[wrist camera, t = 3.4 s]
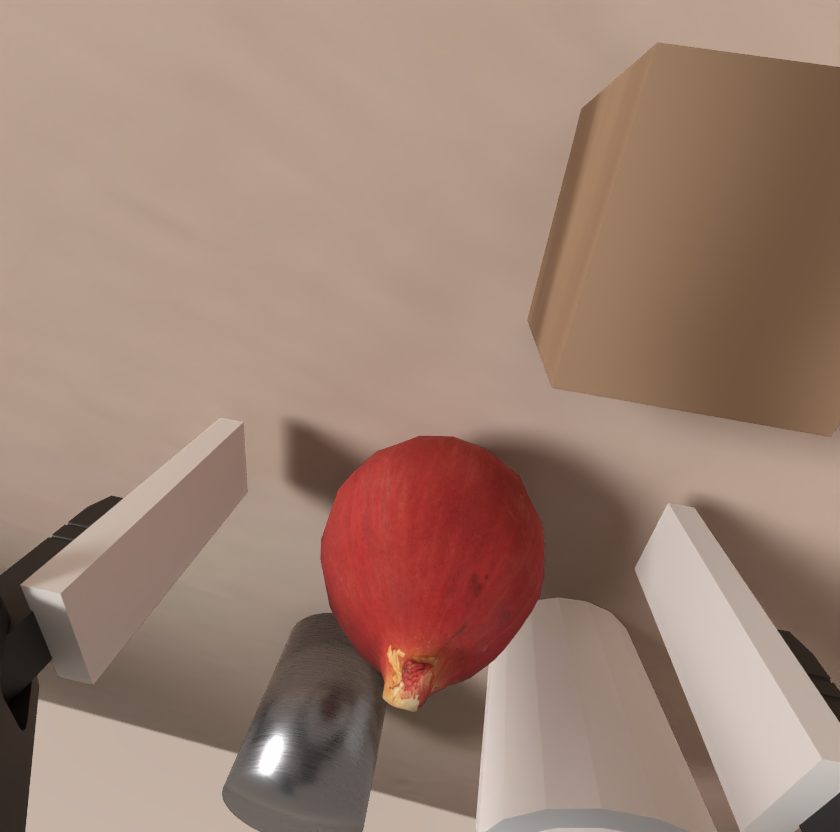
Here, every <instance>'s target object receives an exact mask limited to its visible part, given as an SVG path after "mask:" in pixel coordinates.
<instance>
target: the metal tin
mask: <svg viewBox="0 0 840 832" xmlns="http://www.w3.org/2000/svg"><path fill="white" fill-rule="evenodd" d="M384 685H385V682H384V679H383V676H382V673H380V672H379V671H378V670H377V669H376V668H374V667H373V666H372V665H371V664H370V663H368V662H367V661H366V660H365V659H364V658H363V657H361V656H360V655H359V654H358V652H357V651H356V649H355V647H354V646H353V644H352V643H351V642H350V640H349V639H348V637H347V636H346V634H345V633H344V631H343V630H342V628H341V627H340V625H339V624H338V622H337V621H336V619H335V616H334V614H333V613H323V614H316V615H312V616H309V617H307V618H305V619H303V620H301V621H300V622H299V623H297V624H296V626H295V627H294V628H293V630H292V632H291V634H290V637H289V639H288V641H287V643H286V646H285V648H284V650H283V653H282V655H281V657H280V659H279V662H278V664H277V666H276V669H275V671H274V673H273V675H272V678H271V680H270V682H269V684H268V687H267V689H266V691H265V694H264V696H263V698H262V700H261V703H260V705H259V707H258V710H257V712H256V714H255V716H254V719H253V721H252V723H251V726H250V728H249V730H248V732H247V735H246V737H245V739H244V742H243V744H242V746H241V748H240V751H239V753H238V755H237V757H236V760H235V762H234V764H233V767H232V769H231V772H230V774H229V776H228V778H227V780H226V783H225V785H224V787H223V791H222V796H223V800H224V802H225V804H226V806H227V807H228V808H229V810H230V811H231V812H232V813H233V814H234V815H235V816H236V817H237V818H239V819H240V820H242V821H243V822H244V823H246V824H247V825H249V826H251V827H252V828H254V829H256V830H258V831H260V832H362V831H363V827H364V822H365V817H366V812H367V806H368V801H369V796H370V791H371V785H372V780H373V775H374V769H375V764H376V759H377V753H378V748H379V743H380V738H381V732H382V727H383V722H384V716H385V711H386V706H387V702H386V701H385V700H384V699H383V698H382V697H383V691H384Z"/></svg>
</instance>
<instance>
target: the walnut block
mask: <svg viewBox="0 0 840 832" xmlns="http://www.w3.org/2000/svg"><path fill="white" fill-rule="evenodd" d="M528 323H529V326H530V329H531V331H532V334H533V337H534V340H535V342H536V345H537V348H538V351H539V353H540V356H541V359H542V362H543V364H544V367H545V370H546V373H547V376H548V378H549V381H550V384H551V387H552V388H556V389H562V390H567V391H573V392H579V393H584V394H590V395H596V396H601V397H607V398H613V399H618V400H624V401H630V402H635V403H641V404H647V405H652V406H658V407H664V408H669V409H675V410H681V411H686V412H692V413H698V414H703V415H709V416H715V417H720V418H726V419H732V420H737V421H743V422H749V423H754V424H760V425H766V426H771V427H777V428H783V429H788V430H794V431H800V432H805V433H811V434H817V435H822V436H828V437H831V436H832V435H833V433H834V432H835V430H836V429H837V427H838V426H839V424H840V67H834V66H827V65H819V64H812V63H804V62H797V61H790V60H782V59H775V58H767V57H760V56H753V55H745V54H738V53H731V52H723V51H716V50H708V49H701V48H694V47H686V46H679V45H671V44H664V43H657V44H656V45H654V46H653V47H652V48H651V49H650V50H649V51H647V52H646V53H645V54H644V55H643V56H642V57H641V58H639V59H638V60H637V61H636V62H635V63H634V64H633V65H631V66H630V67H629V68H628V69H627V70H626V71H625V72H623V73H622V74H621V75H620V76H619V77H618V78H616V79H615V80H614V81H613V82H612V83H611V84H610V85H608V86H607V87H606V88H605V89H604V90H603V91H602V92H600V93H599V94H598V95H597V96H596V97H595V98H593V99H592V100H591V101H590V102H589V103H588V104H587V105H585V106H584V107H583V108H582V109H581V113H580V117H579V121H578V125H577V129H576V133H575V137H574V140H573V144H572V148H571V152H570V156H569V160H568V164H567V168H566V172H565V176H564V179H563V183H562V187H561V191H560V195H559V199H558V203H557V207H556V211H555V215H554V218H553V222H552V226H551V230H550V234H549V238H548V242H547V246H546V250H545V254H544V257H543V261H542V265H541V269H540V273H539V277H538V281H537V285H536V289H535V293H534V296H533V300H532V304H531V308H530V312H529V316H528Z"/></svg>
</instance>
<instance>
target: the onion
mask: <svg viewBox="0 0 840 832" xmlns="http://www.w3.org/2000/svg"><path fill="white" fill-rule="evenodd" d="M544 549H545V543H544V535H543V527H542V522H541V520H540V518H539V516H538V514H537V512H536V510H535V509H534V507H533V505H532V503H531V501H530V499H529V496H528V494H527V492H526V490H525V488H524V485H523V483H522V481H521V479H520V477H519V475H518V474H516V473H515V472H514V471H513V470H511V469H510V468H509V467H508V466H507V465H505V464H504V463H503V462H502V461H501V460H499V459H498V458H497V457H496V456H495V455H493V454H492V453H491V452H489V451H488V450H486V449H484V448H482V447H479V446H477V445H474V444H471V443H469V442H466V441H463V440H461V439H458V438H455V437H446V436H418V437H415V438H413V439H410V440H408V441H405V442H402V443H399V444H397V445H394V446H391V447H388V448H385V449H383V450H380V451H377V452H375V453H374V454H373V455H372V456H371V457H370V458H369V459H367V460H366V461H365V462H364V463H363V464H362V465H361V466H360V467H358V468H357V469H356V470H355V471H354V472H353V473H352V474H351V475H350V476H349V478H348V479H347V480H346V481H345V482H344V483H343V484H342V486H341V487H340V488H339V489H338V492H337V495H336V498H335V501H334V504H333V507H332V510H331V512H330V515H329V518H328V521H327V524H326V527H325V530H324V533H323V536H322V539H321V564H322V569H323V574H324V579H325V585H326V590H327V595H328V600H329V605H330V608H331V610H332V612H333V614H334V616H335V619H336V621H337V622H338V624H339V625H340V627H341V628H342V630H343V631H344V633H345V634H346V636H347V637H348V639H349V640H350V642H351V643H352V644H353V646H354V647H355V649H356V651H357V652H358V654H359V655H360V656H361V657H363V658H364V659H365V660H366V661H367V662H368V663H370V664H371V665H372V666H373V667H374V668H376V669H377V670H378V671H379V672H380V673H382V676H383V679H384V682H385V685H384V691H383V697H382V698H383V699H384V700H385V701H386V702H387V703H388V704H389V705H391V706H394V707H397V708H400V709H405V710H409V711H413V712H415V711H417V710H418V709H419V708H420V707H421V706H422V705H423V704H424V703H425V701H426V700H427V698H428V696H429V695H431V694H433V693H435V692H437V691H439V690H442V689H444V688H445V687H447V686H448V685H451V684H455V683H458V682H462V681H464V680H466V679H469V678H471V677H472V676H474V675H475V674H476V673H478V672H479V671H480V670H482V669H483V668H484V667H486V666H487V665H488V664H490V663H491V662H492V661H494V660H495V659H496V658H497V657H498V656H499V655H500V654H501V653H502V652H503V650H504V649H505V648H506V647H507V646H508V644H509V643H510V642H511V640H512V639H513V638H514V636H515V635H516V634H517V633H518V631H519V630H520V629H521V627H522V626H523V624H524V623H525V621H526V619H527V618H528V617H529V615H530V614H531V612H532V611H533V609H534V607H535V605H536V603H537V601H538V599H539V597H540V595H541V589H542V584H543V578H544Z"/></svg>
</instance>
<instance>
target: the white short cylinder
mask: <svg viewBox="0 0 840 832" xmlns="http://www.w3.org/2000/svg"><path fill="white" fill-rule="evenodd" d="M475 832H717V830H716V828H715V826H714V824H713V821H712V819H711V817H710V815H709V812H708V810H707V808H706V806H705V803H704V801H703V799H702V797H701V795H700V792H699V790H698V788H697V786H696V783H695V781H694V779H693V777H692V774H691V772H690V770H689V768H688V765H687V763H686V761H685V759H684V756H683V754H682V752H681V750H680V748H679V745H678V743H677V741H676V739H675V736H674V734H673V732H672V730H671V727H670V725H669V723H668V721H667V718H666V716H665V714H664V712H663V710H662V707H661V705H660V703H659V701H658V698H657V696H656V694H655V692H654V689H653V687H652V685H651V683H650V680H649V678H648V676H647V674H646V672H645V669H644V667H643V665H642V663H641V660H640V658H639V656H638V654H637V651H636V649H635V647H634V645H633V642H632V640H631V638H630V636H629V634H628V631H627V629H626V628H625V627H624V626H623V625H622V624H621V622H620V621H619V620H618V619H617V618H616V617H615V616H614V615H613V614H612V613H611V612H609V611H607V610H605V609H603V608H600V607H598V606H596V605H594V604H592V603H590V602H587V601H581V600H574V599H567V598H560V597H557V598H549V599H542V600H538V601H537V603H536V605H535V607H534V609H533V611H532V612H531V614H530V615H529V617H528V618H527V619H526V621H525V623H524V624H523V626H522V627H521V629H520V630H519V631H518V633H517V634H516V635H515V636H514V638H513V639H512V640H511V642H510V643H509V644H508V646H507V647H506V648H505V649H504V650H503V652H502V653H501V654H500V655H499V656H498V657H497V658H496V659H495V660H494V661H492V662H491V663H490V664H489V668H488V681H487V693H486V705H485V717H484V730H483V742H482V754H481V766H480V779H479V791H478V803H477V815H476V828H475Z"/></svg>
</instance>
